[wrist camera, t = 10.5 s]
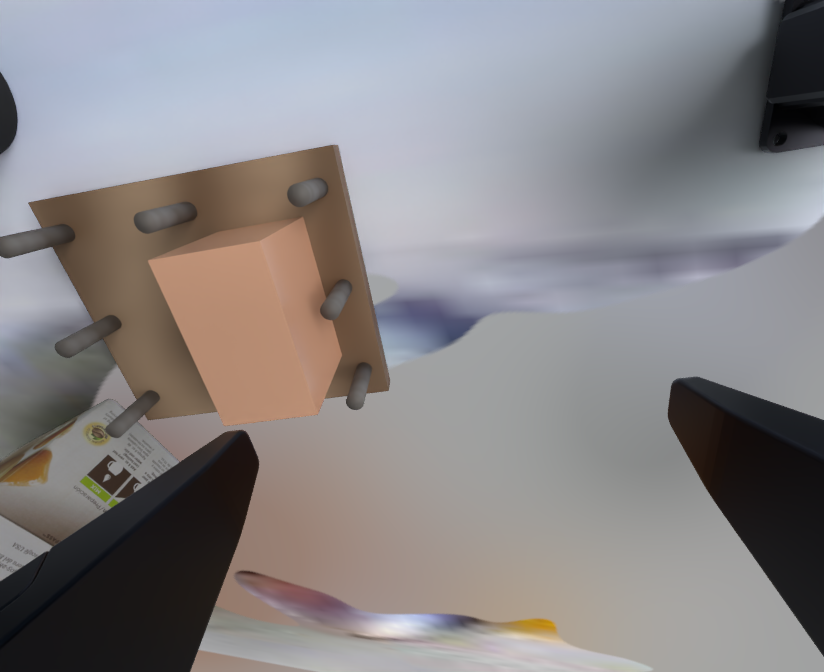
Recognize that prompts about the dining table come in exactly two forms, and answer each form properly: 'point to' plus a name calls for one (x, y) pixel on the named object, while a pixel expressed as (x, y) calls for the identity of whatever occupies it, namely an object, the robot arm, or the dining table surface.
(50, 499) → the coffee box
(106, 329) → the brown peg board
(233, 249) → the peach rectangular block
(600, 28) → the dining table surface
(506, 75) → the dining table surface
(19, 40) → the dining table surface
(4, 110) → the drinking cup
